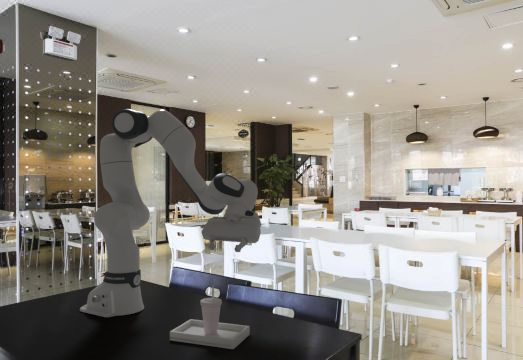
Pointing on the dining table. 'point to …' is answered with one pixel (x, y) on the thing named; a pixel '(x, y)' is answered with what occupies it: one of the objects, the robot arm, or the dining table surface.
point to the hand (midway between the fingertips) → (223, 250)
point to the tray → (224, 338)
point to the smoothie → (211, 313)
